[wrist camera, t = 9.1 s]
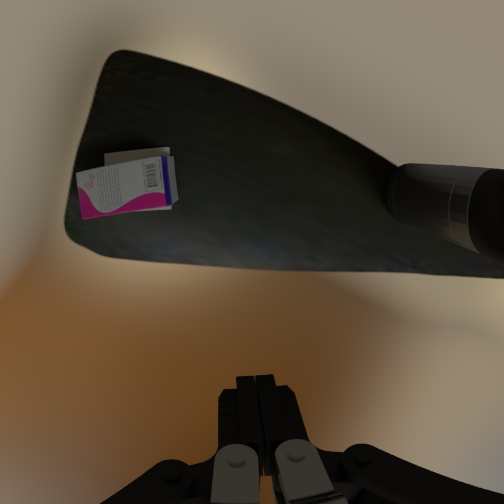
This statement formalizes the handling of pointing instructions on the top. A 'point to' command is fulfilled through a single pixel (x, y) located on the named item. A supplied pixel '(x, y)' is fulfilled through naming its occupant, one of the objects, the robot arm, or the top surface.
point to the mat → (134, 155)
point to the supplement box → (127, 186)
